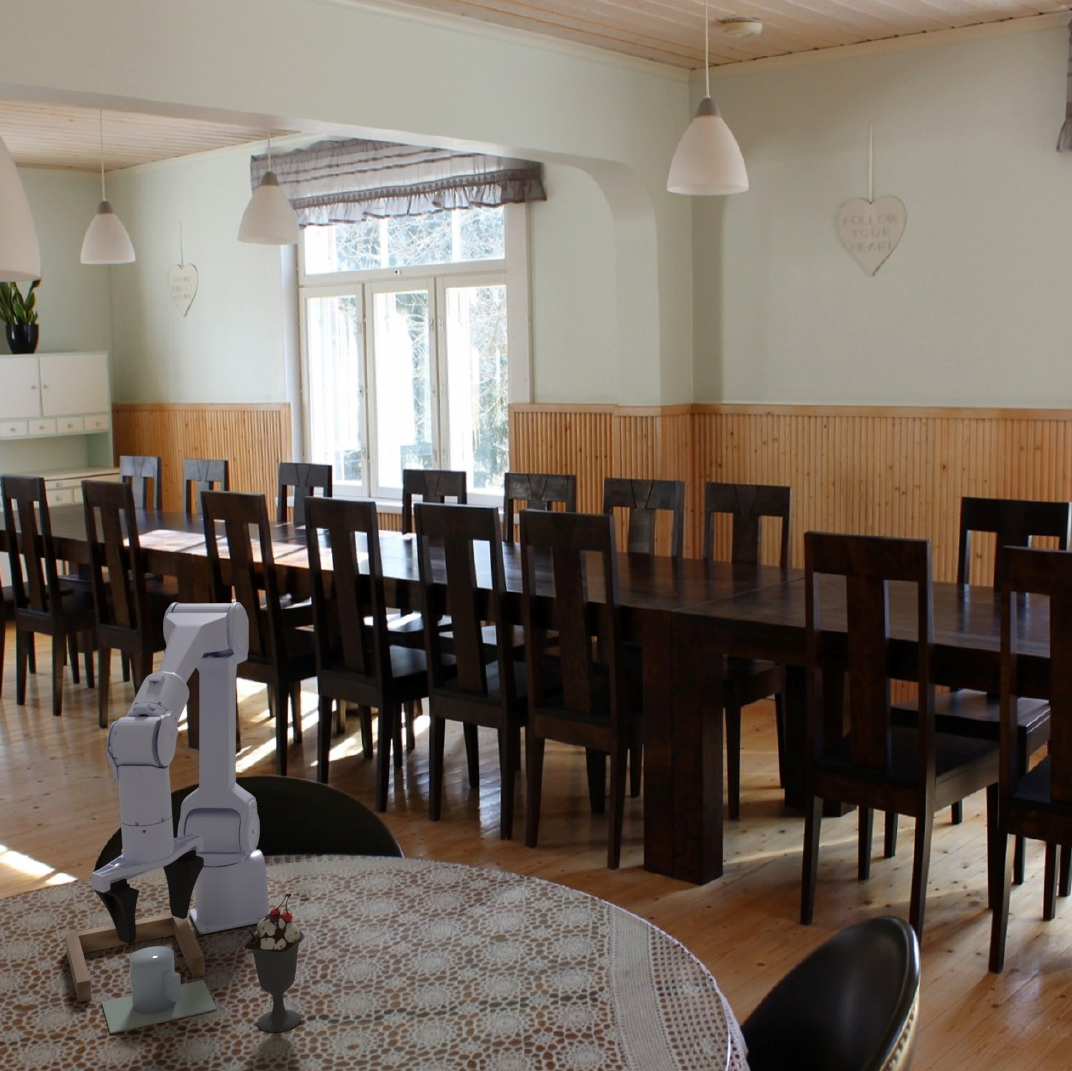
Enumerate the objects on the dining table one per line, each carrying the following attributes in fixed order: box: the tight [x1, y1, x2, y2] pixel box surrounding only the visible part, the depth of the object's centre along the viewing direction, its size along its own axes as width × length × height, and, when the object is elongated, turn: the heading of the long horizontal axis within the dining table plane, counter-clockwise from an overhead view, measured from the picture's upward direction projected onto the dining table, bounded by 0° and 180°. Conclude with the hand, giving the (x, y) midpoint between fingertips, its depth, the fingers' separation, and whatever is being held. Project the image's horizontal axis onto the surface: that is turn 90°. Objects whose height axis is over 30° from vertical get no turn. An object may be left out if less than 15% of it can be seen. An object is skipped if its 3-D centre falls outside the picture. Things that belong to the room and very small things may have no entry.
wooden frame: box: [64, 912, 206, 1003], centre depth 165 cm, size 15×15×2 cm
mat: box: [101, 979, 218, 1035], centre depth 154 cm, size 12×8×1 cm, turn 115°
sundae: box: [244, 893, 305, 1033], centre depth 149 cm, size 7×7×15 cm
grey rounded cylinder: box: [129, 945, 182, 1014], centre depth 153 cm, size 7×5×6 cm
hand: (153, 928), depth 153 cm, fingers open, 7 cm apart
